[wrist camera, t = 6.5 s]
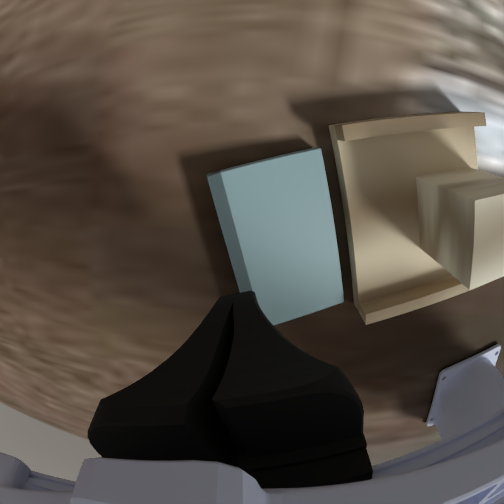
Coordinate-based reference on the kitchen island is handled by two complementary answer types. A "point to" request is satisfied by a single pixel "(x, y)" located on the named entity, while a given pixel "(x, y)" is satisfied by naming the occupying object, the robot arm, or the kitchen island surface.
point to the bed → (397, 205)
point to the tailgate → (281, 232)
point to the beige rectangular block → (463, 223)
